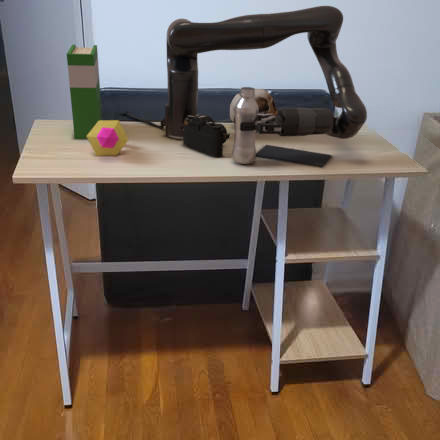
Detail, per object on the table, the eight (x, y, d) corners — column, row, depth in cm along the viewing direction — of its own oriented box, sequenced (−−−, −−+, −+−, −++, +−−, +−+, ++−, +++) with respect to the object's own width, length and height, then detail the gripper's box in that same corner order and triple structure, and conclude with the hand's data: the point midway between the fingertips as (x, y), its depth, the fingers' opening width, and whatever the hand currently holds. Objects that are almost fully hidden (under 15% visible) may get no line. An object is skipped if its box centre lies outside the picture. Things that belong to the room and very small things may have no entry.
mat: (254, 156, 162) (254, 154, 162) (266, 146, 171) (266, 144, 171) (322, 167, 156) (322, 165, 156) (330, 156, 165) (330, 154, 165)
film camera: (243, 148, 168) (245, 115, 163) (223, 159, 158) (225, 124, 153) (192, 138, 175) (193, 105, 170) (170, 148, 165) (170, 113, 160)
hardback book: (79, 123, 184) (72, 44, 171) (102, 123, 185) (96, 45, 172) (74, 139, 169) (66, 53, 156) (99, 139, 170) (93, 54, 157)
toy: (131, 147, 167) (114, 114, 164) (133, 147, 150) (115, 110, 147) (100, 162, 167) (83, 129, 163) (100, 164, 150) (81, 127, 146)
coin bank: (291, 127, 189) (292, 87, 182) (257, 142, 180) (256, 99, 172) (258, 119, 199) (257, 80, 191) (223, 132, 190) (221, 92, 182)
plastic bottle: (255, 166, 154) (261, 91, 144) (231, 165, 154) (235, 90, 144) (254, 159, 160) (260, 86, 149) (231, 158, 160) (235, 85, 149)
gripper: (288, 102, 158) (231, 102, 155) (306, 115, 146) (245, 116, 143) (285, 128, 162) (230, 129, 158) (303, 143, 150) (243, 145, 147)
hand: (237, 123), depth 151 cm, fingers closed on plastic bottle, 6 cm apart
